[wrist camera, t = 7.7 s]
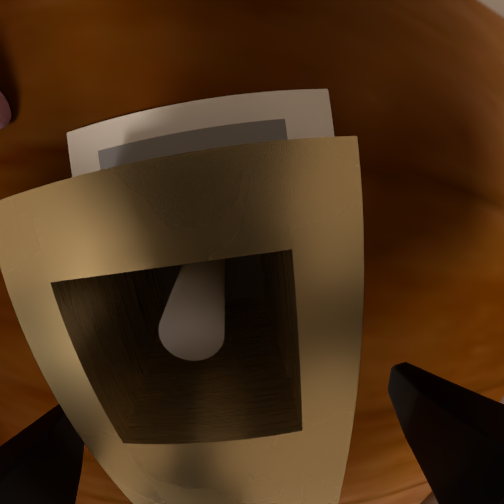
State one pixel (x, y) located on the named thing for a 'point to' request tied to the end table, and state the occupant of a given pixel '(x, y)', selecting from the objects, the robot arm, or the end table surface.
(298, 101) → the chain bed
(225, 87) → the end table surface
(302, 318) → the gold cutout plate
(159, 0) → the end table surface
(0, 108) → the video game controller
